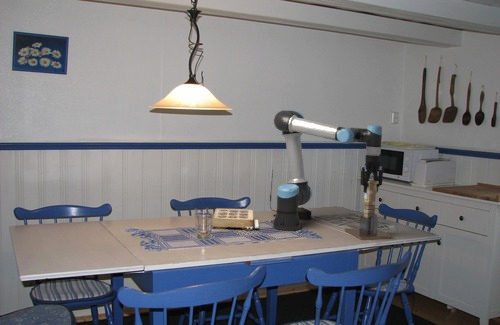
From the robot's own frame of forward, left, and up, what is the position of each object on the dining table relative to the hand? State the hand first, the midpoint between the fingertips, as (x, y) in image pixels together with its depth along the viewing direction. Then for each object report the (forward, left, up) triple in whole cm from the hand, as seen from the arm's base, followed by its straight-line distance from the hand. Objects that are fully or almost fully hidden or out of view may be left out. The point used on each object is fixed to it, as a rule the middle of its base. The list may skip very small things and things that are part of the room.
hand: (370, 198), depth 271 cm
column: (0, 0, -12) cm, 12 cm away
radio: (-28, +46, -20) cm, 57 cm away
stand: (0, 0, -20) cm, 20 cm away
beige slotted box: (-64, +32, -20) cm, 75 cm away
